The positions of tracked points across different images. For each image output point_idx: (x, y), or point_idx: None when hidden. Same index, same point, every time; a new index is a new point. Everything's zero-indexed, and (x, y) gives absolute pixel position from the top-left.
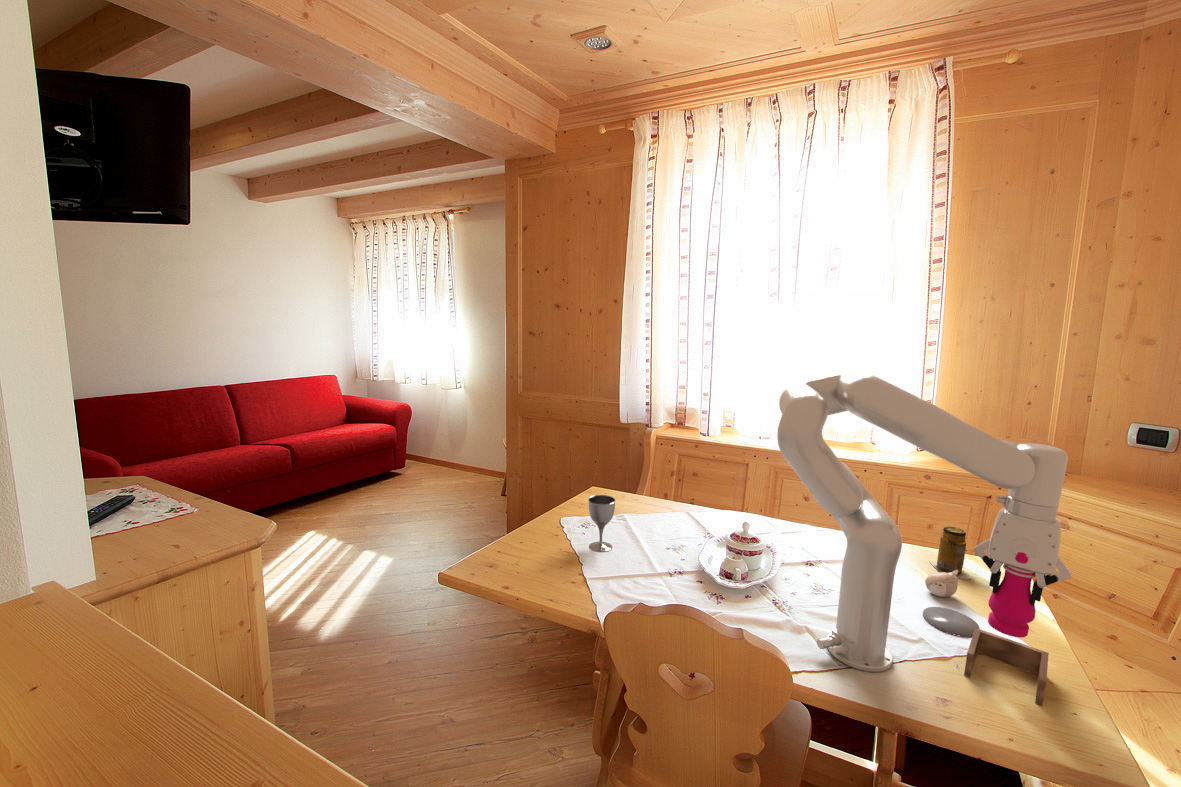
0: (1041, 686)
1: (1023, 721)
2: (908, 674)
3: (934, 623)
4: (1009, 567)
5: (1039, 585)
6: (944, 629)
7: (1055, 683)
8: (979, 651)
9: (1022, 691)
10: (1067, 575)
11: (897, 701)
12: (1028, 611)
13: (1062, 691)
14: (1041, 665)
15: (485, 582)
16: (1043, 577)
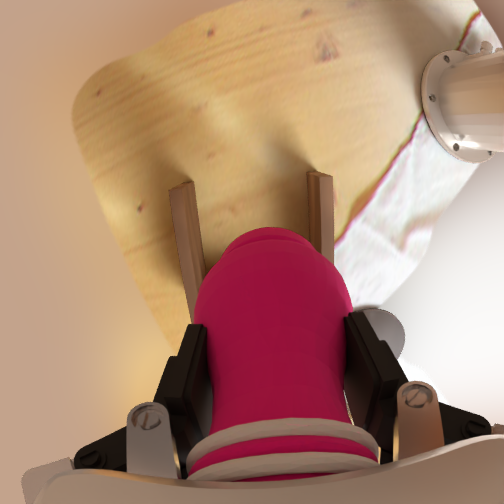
0: (179, 187)
1: (200, 100)
2: (393, 93)
3: (387, 316)
4: (355, 455)
5: (161, 413)
6: (371, 311)
7: (181, 286)
8: None
9: (218, 205)
10: (35, 483)
11: (376, 5)
12: (207, 292)
13: (167, 267)
14: (190, 259)
15: None
16: (130, 459)
